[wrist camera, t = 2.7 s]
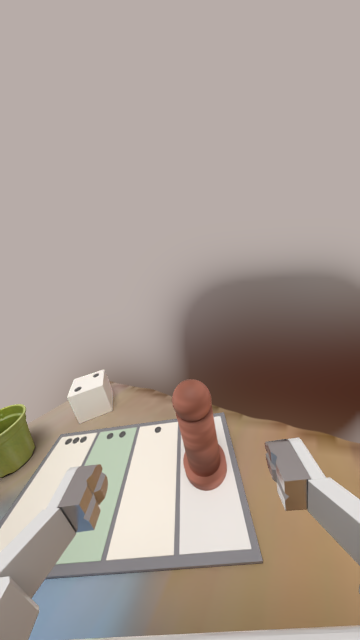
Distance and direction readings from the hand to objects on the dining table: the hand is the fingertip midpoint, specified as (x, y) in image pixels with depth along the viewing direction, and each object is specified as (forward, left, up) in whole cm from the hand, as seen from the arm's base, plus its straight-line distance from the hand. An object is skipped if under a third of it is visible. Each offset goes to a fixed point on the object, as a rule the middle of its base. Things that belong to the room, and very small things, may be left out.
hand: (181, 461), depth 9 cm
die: (-24, +28, -20) cm, 42 cm away
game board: (-12, +12, -20) cm, 26 cm away
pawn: (0, +12, -19) cm, 23 cm away
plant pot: (-35, +17, -20) cm, 44 cm away
